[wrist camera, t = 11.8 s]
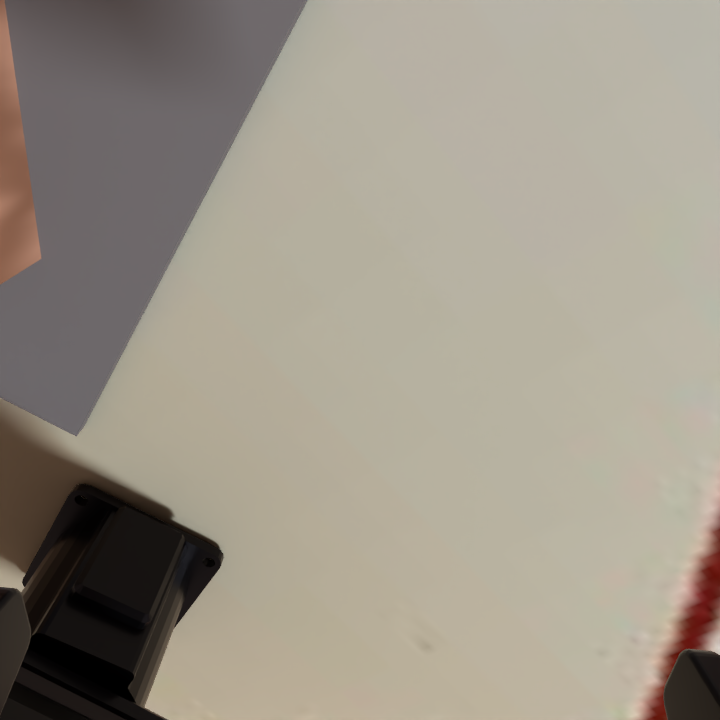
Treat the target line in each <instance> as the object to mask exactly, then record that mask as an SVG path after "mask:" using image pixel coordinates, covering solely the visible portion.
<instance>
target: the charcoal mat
mask: <svg viewBox="0 0 720 720" xmlns="http://www.w3.org/2000/svg"><path fill="white" fill-rule="evenodd" d="M306 2H307V0H5V7H6V14H7V21H8V28H9V35H10V42H11V49H12V56H13V63H14V70H15V77H16V84H17V91H18V98H19V105H20V112H21V119H22V126H23V133H24V140H25V147H26V154H27V161H28V168H29V175H30V182H31V189H32V196H33V203H34V210H35V217H36V224H37V231H38V238H39V245H40V252H41V259H40V260H39V261H37V262H35V263H34V264H32V265H31V266H29V267H27V268H26V269H24V270H23V271H21V272H20V273H18V274H16V275H15V276H13V277H12V278H10V279H8V280H7V281H5V282H4V283H2V284H0V398H2V399H4V400H6V401H8V402H10V403H12V404H14V405H16V406H18V407H20V408H22V409H24V410H26V411H28V412H30V413H32V414H34V415H35V416H37V417H39V418H41V419H43V420H45V421H47V422H49V423H51V424H53V425H55V426H57V427H59V428H61V429H63V430H65V431H67V432H69V433H71V434H73V435H75V436H77V435H78V434H79V432H80V431H81V430H82V429H83V427H84V425H85V424H86V422H87V420H88V418H89V416H90V414H91V412H92V410H93V408H94V406H95V405H96V403H97V401H98V399H99V397H100V395H101V393H102V391H103V389H104V387H105V385H106V384H107V382H108V380H109V378H110V376H111V374H112V372H113V370H114V368H115V366H116V364H117V363H118V361H119V359H120V357H121V355H122V353H123V351H124V349H125V347H126V345H127V343H128V342H129V340H130V338H131V336H132V334H133V332H134V330H135V328H136V326H137V324H138V323H139V321H140V319H141V317H142V315H143V313H144V311H145V309H146V307H147V305H148V303H149V302H150V300H151V298H152V296H153V294H154V292H155V290H156V288H157V286H158V284H159V282H160V281H161V279H162V277H163V275H164V273H165V271H166V269H167V267H168V265H169V263H170V262H171V260H172V258H173V256H174V254H175V252H176V250H177V248H178V246H179V244H180V242H181V241H182V239H183V237H184V235H185V233H186V231H187V229H188V227H189V225H190V223H191V221H192V220H193V218H194V216H195V214H196V212H197V210H198V208H199V206H200V204H201V202H202V200H203V199H204V197H205V195H206V193H207V191H208V189H209V187H210V185H211V183H212V181H213V180H214V178H215V176H216V174H217V172H218V170H219V168H220V166H221V164H222V162H223V160H224V159H225V157H226V155H227V153H228V151H229V149H230V147H231V145H232V143H233V141H234V139H235V138H236V136H237V134H238V132H239V130H240V128H241V126H242V124H243V122H244V120H245V119H246V117H247V115H248V113H249V111H250V109H251V107H252V105H253V103H254V101H255V99H256V98H257V96H258V94H259V92H260V90H261V88H262V86H263V84H264V82H265V80H266V78H267V77H268V75H269V73H270V71H271V69H272V67H273V65H274V63H275V61H276V59H277V58H278V56H279V54H280V52H281V50H282V48H283V46H284V44H285V42H286V40H287V38H288V37H289V35H290V33H291V31H292V29H293V27H294V25H295V23H296V21H297V19H298V17H299V16H300V14H301V12H302V10H303V8H304V6H305V4H306Z"/></svg>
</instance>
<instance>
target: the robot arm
mask: <svg viewBox="0 0 720 720" xmlns="http://www.w3.org/2000/svg"><path fill="white" fill-rule="evenodd" d="M80 495H81V496H84V497H85V498H87V499H85V498H83V497H81V496H80ZM208 558H211V559H213V560H210V559H208ZM222 560H223V553H222V552H221V550H219V549H218V548H216V547H214V546H212V545H210V544H208V543H206V542H204V541H202V540H200V539H198V538H196V537H194V536H192V535H190V534H188V533H186V532H184V531H182V530H180V529H178V528H176V527H174V526H172V525H170V524H168V523H166V522H163V521H161V520H159V519H157V518H155V517H153V516H151V515H149V514H147V513H145V512H143V511H141V510H139V509H137V508H135V507H133V506H131V505H129V504H127V503H125V502H123V501H121V500H119V499H117V498H115V497H113V496H111V495H109V494H107V493H105V492H103V491H101V490H99V489H97V488H95V487H93V486H91V485H87V484H79V485H76V486H75V487H74V488H73V490H72V491H71V493H70V494H69V496H68V498H67V499H66V501H65V503H64V505H63V507H62V509H61V510H60V512H59V514H58V516H57V518H56V520H55V521H54V523H53V525H52V527H51V529H50V531H49V532H48V534H47V536H46V538H45V540H44V542H43V543H42V545H41V547H40V549H39V551H38V552H37V554H36V556H35V558H34V560H33V562H32V563H31V565H30V567H29V569H28V571H27V573H26V574H25V576H24V578H23V581H22V583H23V586H24V587H25V588H24V589H23V591H22V592H20V591H19V590H18V589H15V588H4V587H0V720H167V719H165V718H164V717H162V716H160V715H158V714H156V713H154V712H152V711H150V710H148V709H146V708H144V707H145V704H146V701H147V699H148V696H149V693H150V691H151V688H152V685H153V683H154V680H155V677H156V675H157V672H158V669H159V667H160V664H161V661H162V658H163V656H164V653H165V650H166V648H167V645H168V642H169V640H170V637H171V634H172V632H173V629H174V628H175V626H176V625H177V624H178V622H179V621H180V620H181V619H182V617H183V616H184V615H185V613H186V612H187V611H188V609H189V608H190V607H191V605H192V604H193V603H194V601H195V600H196V599H197V597H198V596H199V595H200V593H201V592H202V591H203V589H204V588H205V587H206V586H207V584H208V583H209V582H210V580H211V579H212V578H213V576H214V575H215V574H216V572H217V571H218V570H219V568H220V566H221V563H222ZM664 705H665V710H666V714H667V718H668V720H720V655H718V654H717V653H715V652H712V651H705V650H694V649H685V650H684V651H682V652H681V653H680V655H679V656H678V659H677V661H676V663H675V665H674V667H673V669H672V672H671V674H670V676H669V678H668V680H667V682H666V685H665V688H664Z"/></svg>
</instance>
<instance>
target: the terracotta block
mask: <svg viewBox="0 0 720 720" xmlns="http://www.w3.org/2000/svg"><path fill="white" fill-rule="evenodd" d="M40 259H41V252H40V245H39V238H38V231H37V224H36V217H35V210H34V203H33V196H32V189H31V182H30V175H29V168H28V161H27V154H26V147H25V140H24V133H23V126H22V119H21V112H20V105H19V98H18V91H17V84H16V77H15V70H14V63H13V56H12V49H11V42H10V35H9V28H8V21H7V14H6V7H5V0H0V284H2V283H4V282H5V281H7V280H8V279H10V278H12V277H13V276H15V275H16V274H18V273H20V272H21V271H23V270H24V269H26V268H27V267H29V266H31V265H32V264H34V263H35V262H37V261H39V260H40Z"/></svg>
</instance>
